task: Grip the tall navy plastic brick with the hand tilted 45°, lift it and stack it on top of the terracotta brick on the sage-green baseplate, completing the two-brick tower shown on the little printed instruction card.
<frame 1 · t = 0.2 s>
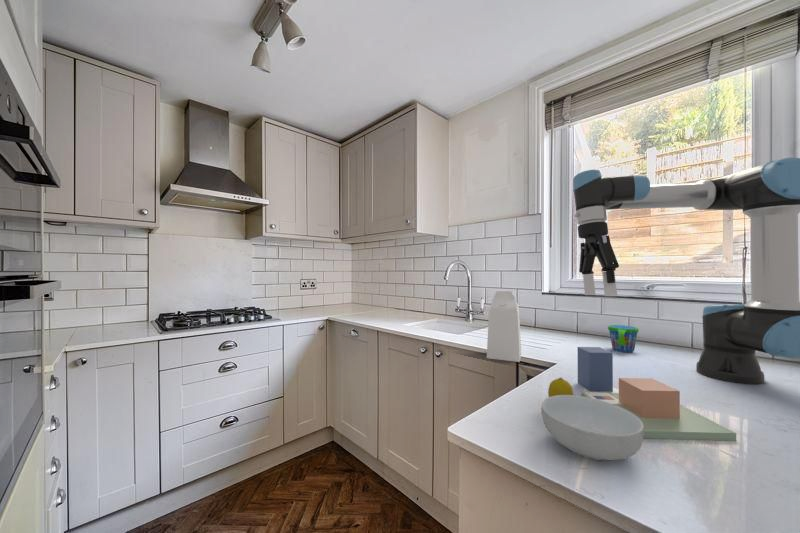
hand: (599, 295, 90), 27 cm above the countertop, tool pointing down, fingers open, 13 cm apart
snack cup: (623, 351, 132), on the countertop
lemon: (560, 411, 76), on the countertop
navy brick: (594, 387, 91), on the countertop
baseplate tower: (647, 416, 73), on the countertop
cereal bowl: (589, 449, 60), on the countertop
milk: (504, 356, 124), on the countertop
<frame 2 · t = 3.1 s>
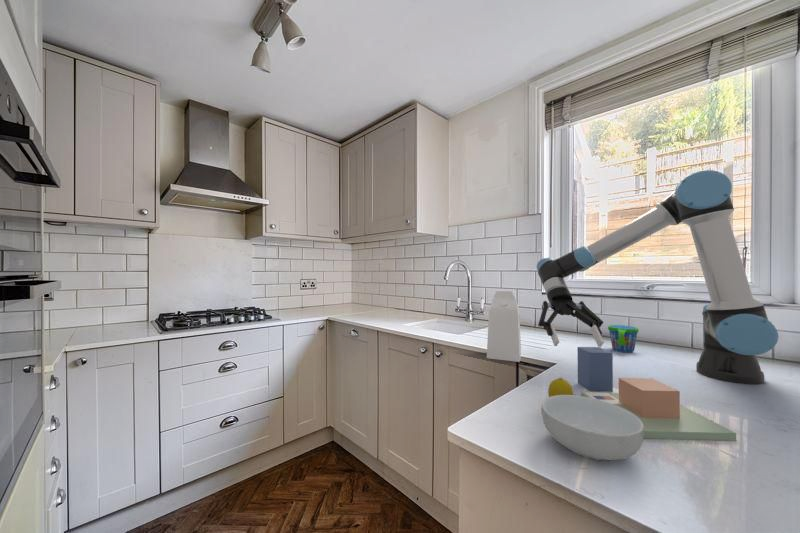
hand: (579, 344, 98), 11 cm above the countertop, tool tilted 45°, fingers open, 13 cm apart
nothing on the countertop moved.
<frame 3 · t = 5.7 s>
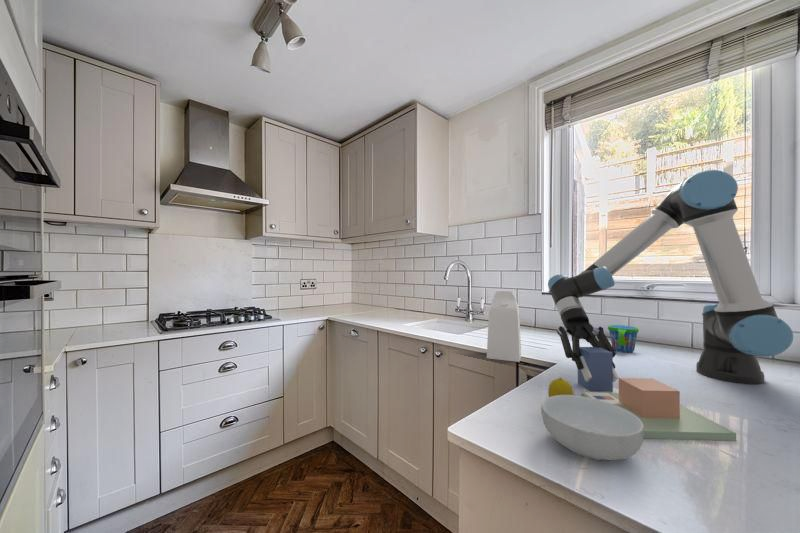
hand: (601, 379, 88), 3 cm above the countertop, tool tilted 45°, fingers closed on navy brick, 6 cm apart
navy brick: (594, 387, 91), on the countertop, touching gripper
everything else where it was.
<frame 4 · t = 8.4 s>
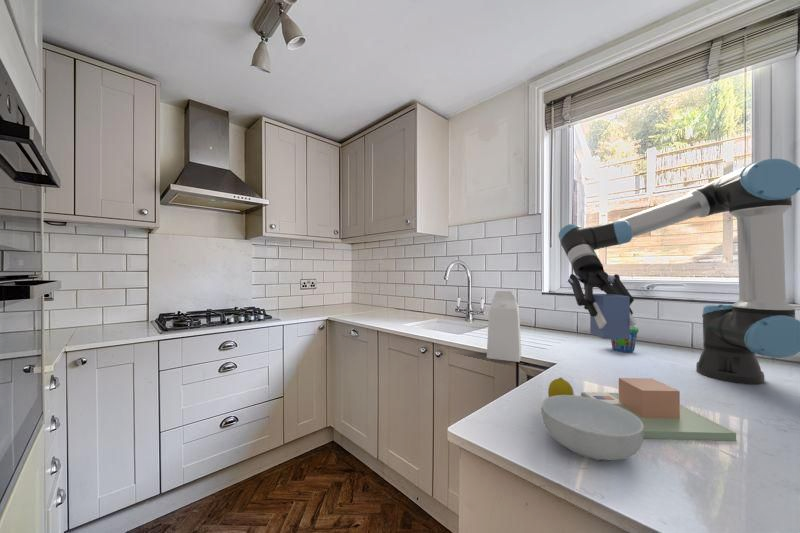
hand: (617, 325, 80), 20 cm above the countertop, tool tilted 45°, fingers closed on navy brick, 6 cm apart
navy brick: (609, 336, 83), point 17 cm above the countertop, touching gripper
everything else where it was.
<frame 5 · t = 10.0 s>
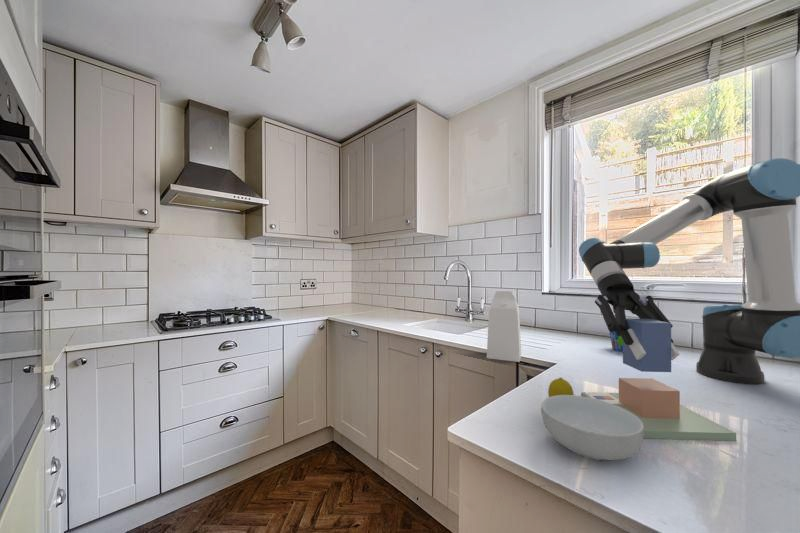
hand: (657, 356, 70), 15 cm above the countertop, tool tilted 45°, fingers closed on navy brick, 6 cm apart
navy brick: (645, 367, 73), point 11 cm above the countertop, touching gripper
everything else where it was.
when the fingers open (13 cm above the countertop, at t = 11.1 s): navy brick drops 2 cm, resting on baseplate tower.
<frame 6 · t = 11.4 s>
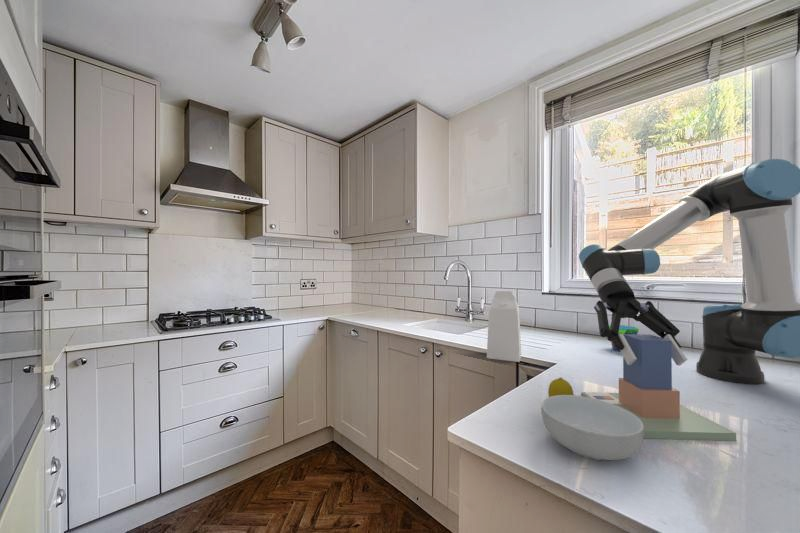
hand: (657, 362, 70), 14 cm above the countertop, tool tilted 45°, fingers open, 10 cm apart
navy brick: (646, 384, 73), point 7 cm above the countertop, touching baseplate tower
everything else where it was.
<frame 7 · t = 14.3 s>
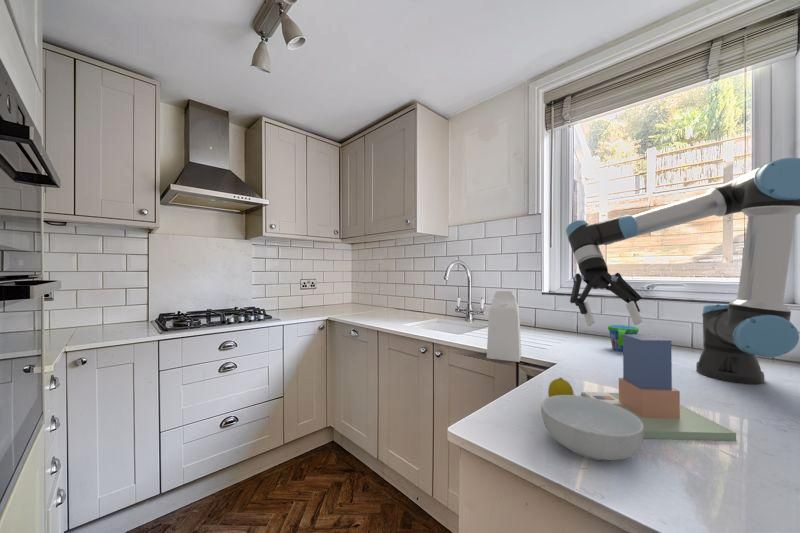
hand: (614, 323, 90), 19 cm above the countertop, tool tilted 30°, fingers open, 13 cm apart
nothing on the countertop moved.
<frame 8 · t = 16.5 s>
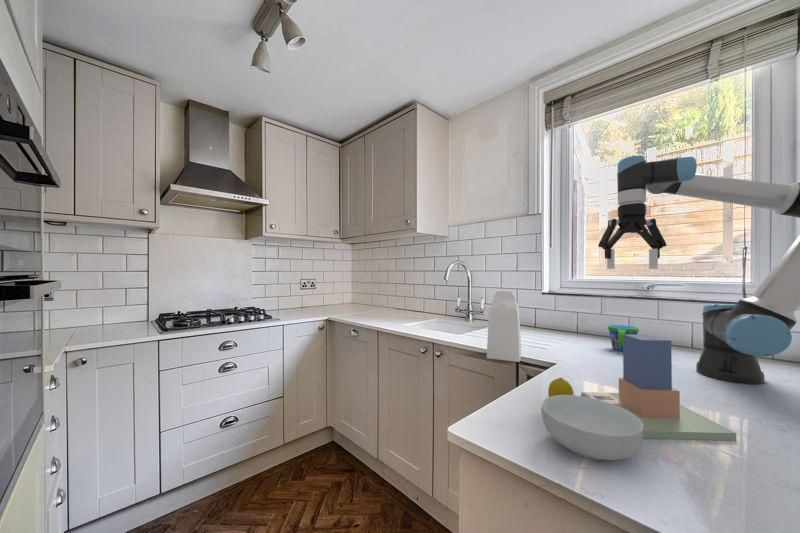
hand: (632, 268, 103), 35 cm above the countertop, tool pointing down, fingers open, 13 cm apart
nothing on the countertop moved.
at the end: navy brick 0.2 cm off-centre on the baseplate tower, point 7.5 cm above the baseplate tower's base; navy brick tilted 0°; the gripper is holding nothing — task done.
